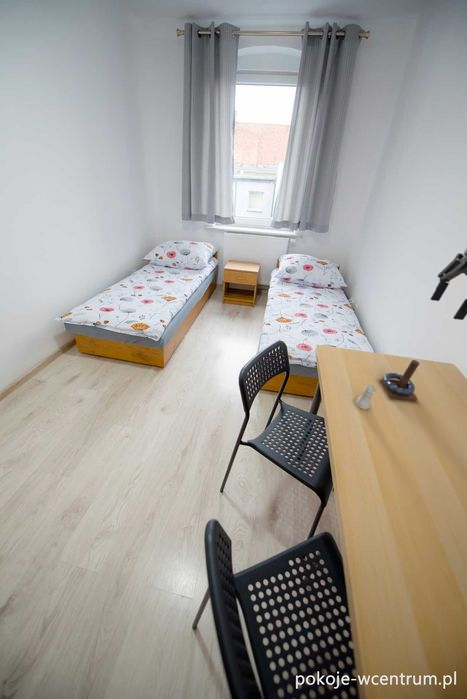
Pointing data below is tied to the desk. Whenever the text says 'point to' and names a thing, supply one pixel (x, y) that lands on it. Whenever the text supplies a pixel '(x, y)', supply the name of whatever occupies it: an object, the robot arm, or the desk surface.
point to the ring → (395, 388)
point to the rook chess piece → (365, 397)
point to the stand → (403, 384)
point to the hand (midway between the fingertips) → (445, 309)
